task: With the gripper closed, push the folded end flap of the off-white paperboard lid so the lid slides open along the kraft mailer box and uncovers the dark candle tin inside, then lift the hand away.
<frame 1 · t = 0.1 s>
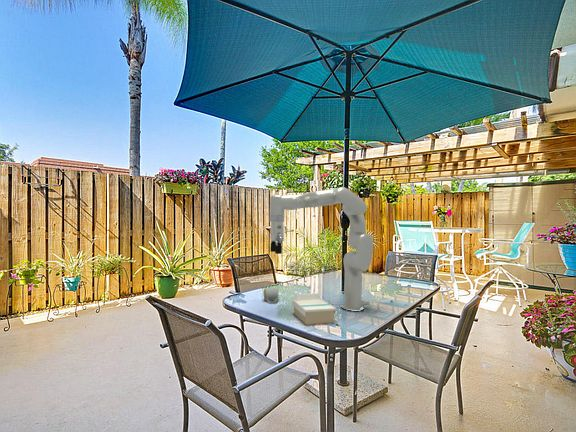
hand: (275, 252, 156), 31 cm above the table, tool pointing down, fingers open, 9 cm apart
lid: (313, 303, 150), point 7 cm above the table, slide at 0.0 cm
ceramic mug: (271, 301, 180), on the table
mailer box: (312, 318, 150), on the table
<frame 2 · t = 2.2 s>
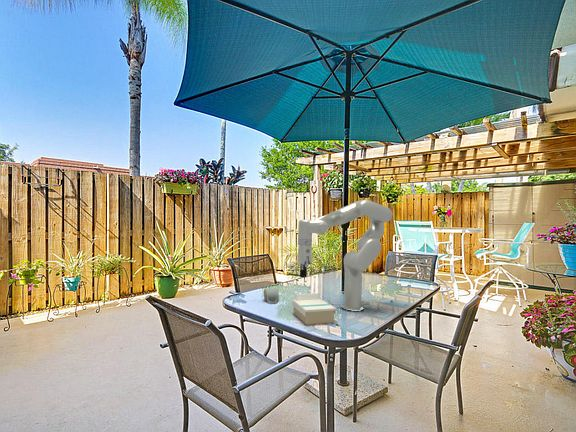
hand: (303, 276, 164), 18 cm above the table, tool pointing down, fingers closed
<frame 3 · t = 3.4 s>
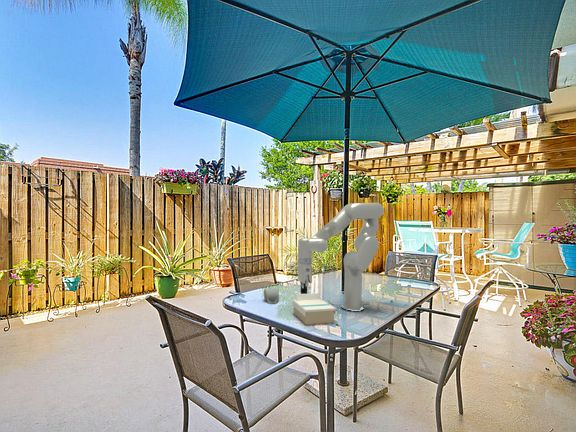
hand: (303, 295, 163), 8 cm above the table, tool pointing down, fingers closed
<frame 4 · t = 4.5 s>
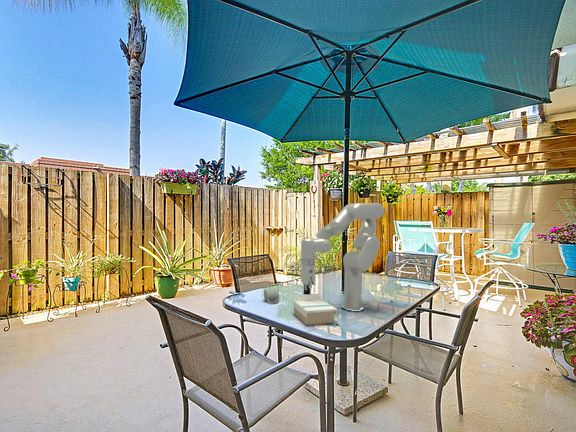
hand: (306, 297, 159), 8 cm above the table, tool pointing down, fingers closed
lid: (314, 304, 149), point 7 cm above the table, slide at 1.3 cm, touching gripper
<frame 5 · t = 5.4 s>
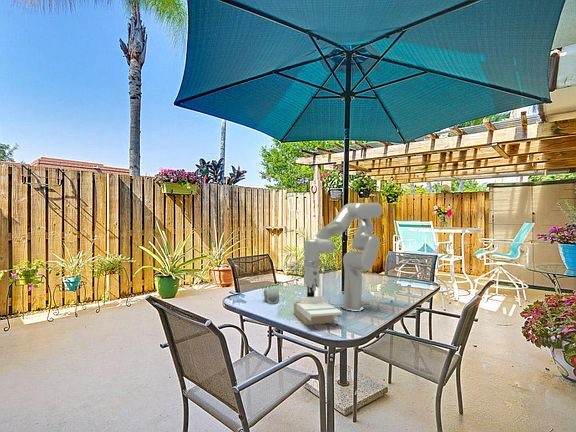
hand: (310, 300, 154), 8 cm above the table, tool pointing down, fingers closed
lid: (318, 307, 144), point 7 cm above the table, slide at 6.5 cm, touching gripper
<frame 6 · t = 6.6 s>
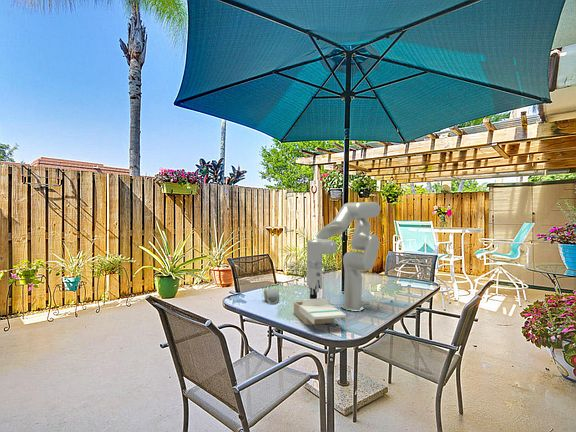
hand: (313, 302, 150), 8 cm above the table, tool pointing down, fingers closed
lid: (321, 309, 140), point 7 cm above the table, slide at 10.2 cm, touching gripper
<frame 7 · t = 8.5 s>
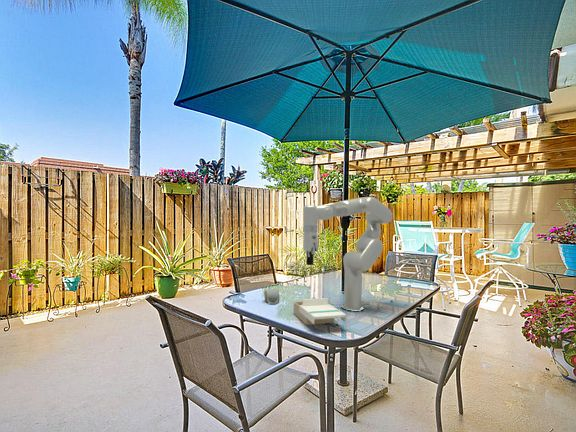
hand: (309, 264, 158), 25 cm above the table, tool pointing down, fingers closed
lid: (321, 309, 140), point 7 cm above the table, slide at 10.3 cm
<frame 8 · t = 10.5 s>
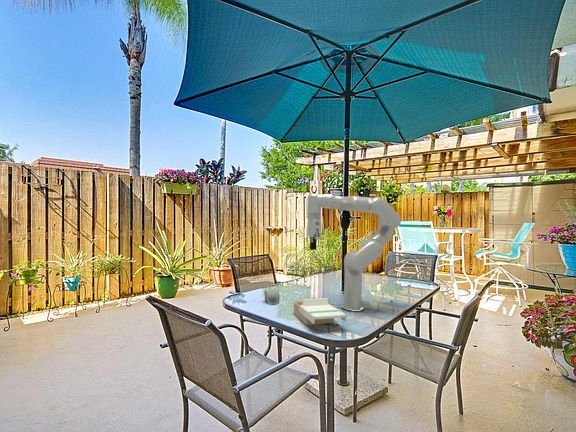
hand: (313, 249, 169), 32 cm above the table, tool pointing down, fingers closed
at the end: lid slide at 10.3 cm; ceramic mug moved 3.2 cm from its start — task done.
